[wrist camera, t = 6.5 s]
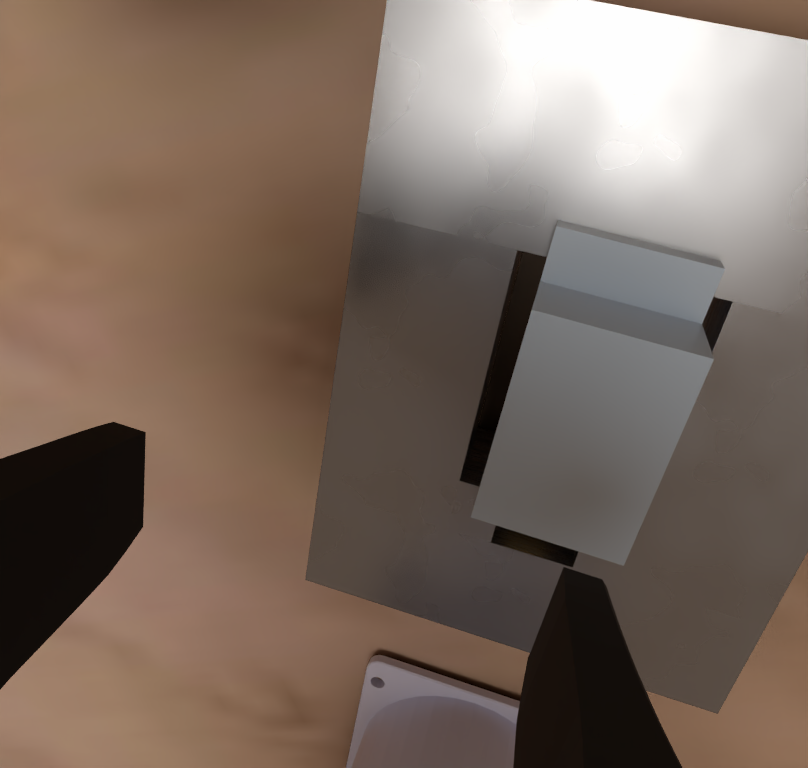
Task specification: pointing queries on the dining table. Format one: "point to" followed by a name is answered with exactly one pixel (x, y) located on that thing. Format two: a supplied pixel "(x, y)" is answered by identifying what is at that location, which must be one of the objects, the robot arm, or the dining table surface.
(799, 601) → the dining table surface
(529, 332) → the block
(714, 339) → the chassis
